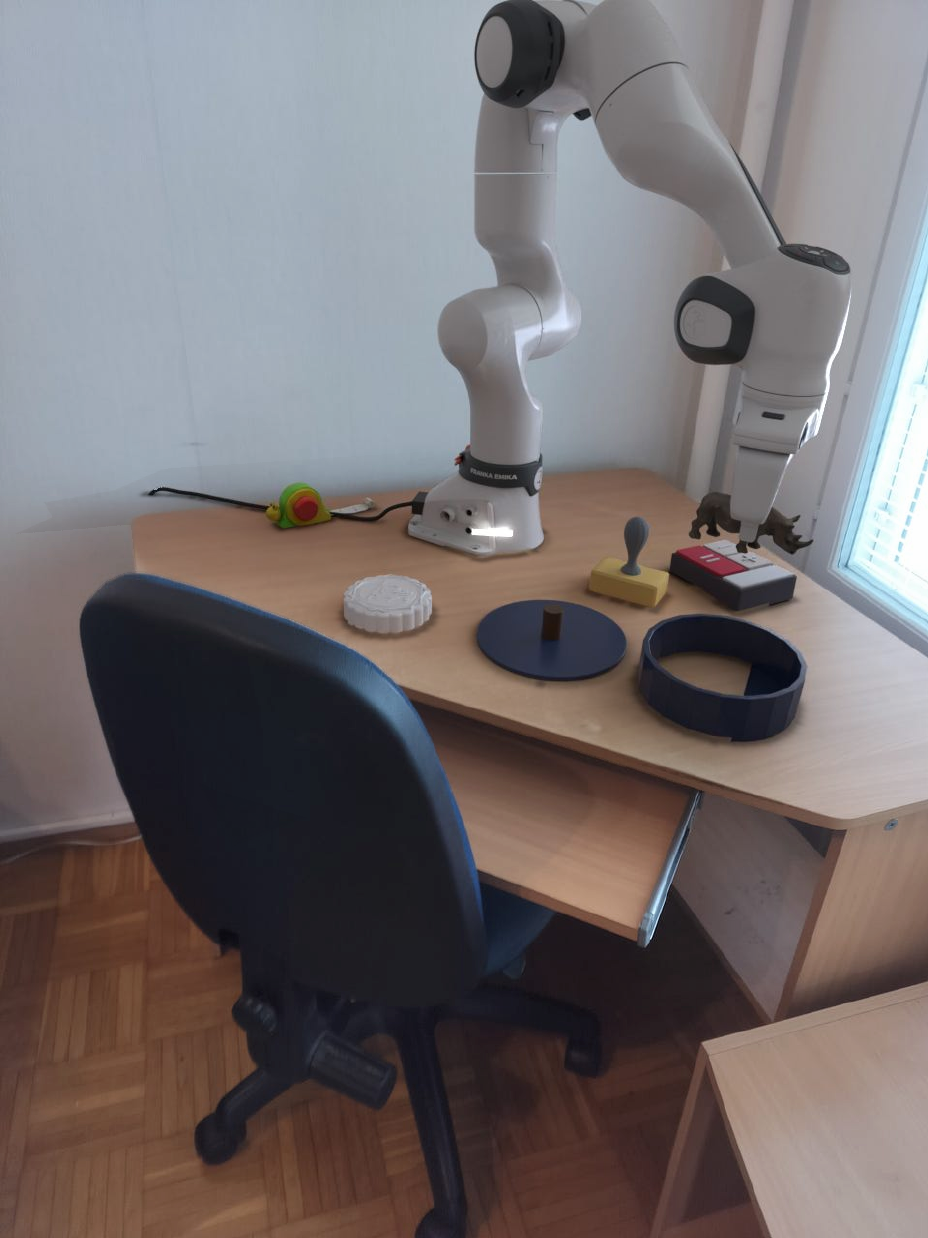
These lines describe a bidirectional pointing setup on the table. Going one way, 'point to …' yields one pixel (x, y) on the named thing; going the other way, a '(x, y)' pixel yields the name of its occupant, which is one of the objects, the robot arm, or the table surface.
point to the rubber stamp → (630, 571)
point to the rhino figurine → (718, 512)
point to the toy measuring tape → (306, 507)
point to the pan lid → (551, 640)
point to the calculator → (733, 575)
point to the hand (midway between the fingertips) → (750, 530)
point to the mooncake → (387, 604)
